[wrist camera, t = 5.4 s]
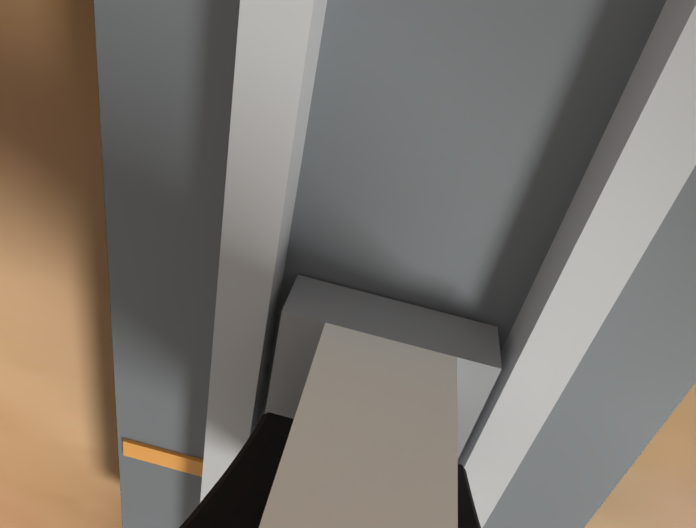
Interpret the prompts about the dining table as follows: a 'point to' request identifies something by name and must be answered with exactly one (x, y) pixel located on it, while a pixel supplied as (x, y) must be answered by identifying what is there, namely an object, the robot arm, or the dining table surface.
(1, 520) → the dining table surface
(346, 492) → the fader tab
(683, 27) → the fader console
